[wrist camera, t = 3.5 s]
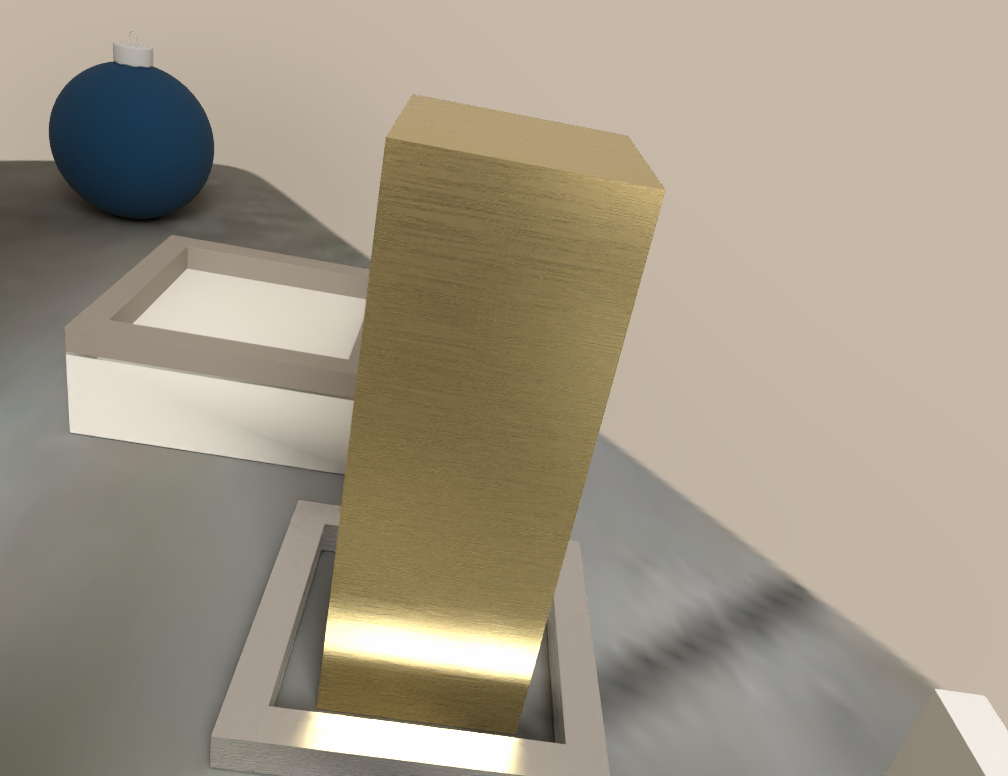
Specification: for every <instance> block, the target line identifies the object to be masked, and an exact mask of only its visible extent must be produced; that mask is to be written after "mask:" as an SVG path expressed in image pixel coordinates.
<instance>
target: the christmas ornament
mask: <svg viewBox="0 0 1008 776" xmlns="http://www.w3.org/2000/svg"><path fill="white" fill-rule="evenodd" d="M134 33H135V32H134ZM130 34H131V32H130ZM135 35H136V34H135ZM129 38H130V37H129ZM136 39H137V38H136ZM129 40H130V39H129ZM113 56H114V57H113V58H114V62H107V63H103V64H99V65H96V66H93V67H91V68H89V69H87V70H85V71H83V72H81V73H80V74H78V75H77V76H76V77H74V78H73V79H72V80H71V81H70V82H69V83H68V84H67V85H66V86H65V87H64V89H63V90H62V91H61V93H60V94H59V96H58V97H57V99H56V101H55V104H54V106H53V109H52V112H51V117H50V122H49V140H50V147H51V150H52V154H53V157H54V160H55V163H56V165H57V167H58V169H59V171H60V172H61V174H62V176H63V177H64V179H65V180H66V181H67V183H68V184H69V185H70V186H71V187H72V189H73V190H74V191H75V192H76V193H77V194H79V195H80V196H81V197H82V198H83V199H85V200H86V201H87V202H89V203H90V204H92V205H94V206H95V207H97V208H99V209H101V210H103V211H105V212H108V213H110V214H113V215H117V216H121V217H125V218H133V219H148V218H155V217H160V216H164V215H167V214H170V213H172V212H174V211H177V210H178V209H180V208H182V207H183V206H185V205H186V204H188V203H189V202H190V201H191V200H192V199H193V198H194V197H195V196H196V195H197V194H198V193H199V192H200V190H201V189H202V188H203V186H204V184H205V183H206V181H207V179H208V176H209V174H210V171H211V168H212V164H213V157H214V140H213V134H212V129H211V126H210V123H209V120H208V118H207V115H206V113H205V111H204V109H203V108H202V106H201V104H200V103H199V102H198V100H197V99H196V97H195V96H194V95H193V94H192V93H191V92H190V91H189V89H187V87H185V86H184V85H183V84H182V83H181V82H180V81H178V80H177V79H176V78H174V77H172V76H171V75H169V74H168V73H166V72H164V71H162V70H160V69H158V68H155V67H153V47H151V46H148V45H145V44H140V43H137V42H136V43H135V42H125V41H116V42H114V43H113Z"/></svg>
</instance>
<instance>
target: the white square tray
mask: <svg viewBox="0 0 1008 776" xmlns="http://www.w3.org/2000/svg"><path fill="white" fill-rule="evenodd" d="M369 272H370V269H364V268H359V267H353V266H347V265H341V264H336V263H330V262H324V261H319V260H313V259H307V258H301V257H296V256H290V255H284V254H279V253H273V252H267V251H261V250H256V249H250V248H244V247H238V246H233V245H227V244H221V243H216V242H210V241H204V240H198V239H193V238H187V237H181V236H176V235H171V236H170V237H168V238H167V239H166V240H165V241H164V242H163V243H161V244H160V245H159V246H158V247H157V248H156V249H154V250H153V251H152V252H151V253H150V254H149V255H147V256H146V257H145V258H144V259H143V260H142V261H140V262H139V263H138V264H137V265H136V266H135V267H133V268H132V269H131V270H130V271H129V272H128V273H126V274H125V275H124V276H123V277H122V278H121V279H119V280H118V281H117V282H116V283H115V284H114V285H112V286H111V287H110V288H109V289H108V290H107V291H105V292H104V293H103V294H102V295H101V296H100V297H98V298H97V299H96V300H95V301H94V302H93V303H91V304H90V305H89V306H88V307H87V308H86V309H84V310H83V311H82V312H81V313H80V314H79V315H77V316H76V317H75V318H74V319H73V320H72V321H70V322H69V323H68V324H67V325H66V326H65V327H64V328H65V346H66V365H67V384H68V403H69V422H70V432H71V433H77V434H84V435H90V436H97V437H103V438H110V439H116V440H123V441H129V442H136V443H142V444H149V445H155V446H162V447H168V448H175V449H181V450H188V451H194V452H201V453H208V454H214V455H221V456H227V457H234V458H240V459H247V460H253V461H260V462H266V463H273V464H279V465H286V466H292V467H299V468H305V469H312V470H318V471H325V472H331V473H338V474H344V475H345V470H346V462H347V454H348V445H349V437H350V429H351V421H352V412H353V404H354V396H355V388H356V379H357V371H358V363H359V355H360V346H361V338H362V330H363V322H364V313H365V305H366V297H367V289H368V280H369Z"/></svg>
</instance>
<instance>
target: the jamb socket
mask: <svg viewBox="0 0 1008 776" xmlns="http://www.w3.org/2000/svg"><path fill="white" fill-rule="evenodd" d="M340 511H341V506H337V505H330V504H324V503H317V502H310V501H304V500H298V503H297V505H296V508H295V511H294V513H293V516H292V519H291V521H290V524H289V527H288V530H287V532H286V535H285V538H284V540H283V543H282V546H281V548H280V551H279V554H278V557H277V559H276V562H275V565H274V567H273V570H272V573H271V576H270V578H269V581H268V584H267V586H266V589H265V592H264V594H263V597H262V600H261V603H260V605H259V608H258V611H257V613H256V616H255V619H254V621H253V624H252V627H251V630H250V632H249V635H248V638H247V640H246V643H245V646H244V648H243V651H242V654H241V657H240V659H239V662H238V665H237V667H236V670H235V673H234V676H233V678H232V681H231V684H230V686H229V689H228V692H227V694H226V697H225V700H224V703H223V705H222V708H221V711H220V713H219V716H218V719H217V721H216V724H215V727H214V730H213V732H212V735H211V749H210V767H212V768H220V769H229V770H237V771H245V772H253V773H261V774H270V775H278V776H610V769H609V761H608V754H607V746H606V739H605V731H604V724H603V716H602V709H601V701H600V694H599V686H598V679H597V671H596V664H595V656H594V648H593V641H592V633H591V626H590V618H589V611H588V603H587V596H586V588H585V581H584V573H583V566H582V558H581V551H580V543H579V542H577V541H570V540H569V542H568V546H567V550H566V553H565V557H564V560H563V564H562V568H561V571H560V575H559V579H558V582H557V586H556V590H555V593H554V597H553V600H552V604H551V608H550V611H549V615H548V619H547V634H548V649H549V663H550V678H551V693H552V707H553V722H554V737H555V743H551V742H544V741H536V740H528V739H520V738H513V737H505V736H497V735H489V734H482V733H474V732H466V731H458V730H451V729H443V728H435V727H427V726H419V725H412V724H404V723H396V722H388V721H381V720H373V719H365V718H357V717H350V716H342V715H334V714H326V713H319V712H311V711H303V710H295V709H287V708H280V707H275V704H276V700H277V697H278V694H279V690H280V687H281V684H282V680H283V677H284V674H285V671H286V667H287V664H288V661H289V657H290V654H291V651H292V647H293V644H294V641H295V637H296V634H297V631H298V627H299V624H300V621H301V617H302V614H303V611H304V607H305V604H306V601H307V597H308V594H309V591H310V587H311V584H312V581H313V577H314V574H315V571H316V567H317V564H318V561H319V557H320V554H321V551H322V550H327V551H334V552H336V544H337V536H338V528H339V520H340Z"/></svg>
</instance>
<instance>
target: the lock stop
mask: <svg viewBox="0 0 1008 776" xmlns="http://www.w3.org/2000/svg"><path fill="white" fill-rule="evenodd" d="M664 194H665V189H664V187H663V186H662V184H661V183H660V181H659V180H658V178H657V177H656V176H655V174H654V173H653V171H652V170H651V168H650V167H649V165H648V164H647V163H646V161H645V160H644V159H643V157H642V156H641V154H640V153H639V151H638V150H637V148H636V147H635V145H634V144H633V142H632V141H631V139H630V138H629V137H628V136H626V135H621V134H615V133H610V132H605V131H600V130H594V129H589V128H585V127H579V126H574V125H569V124H564V123H559V122H554V121H548V120H543V119H538V118H533V117H527V116H522V115H517V114H512V113H507V112H502V111H497V110H492V109H487V108H482V107H476V106H471V105H466V104H461V103H456V102H451V101H446V100H440V99H435V98H430V97H425V96H420V95H415V94H412V96H411V98H410V99H409V101H408V102H407V104H406V106H405V107H404V109H403V110H402V112H401V114H400V115H399V117H398V118H397V120H396V122H395V123H394V125H393V126H392V128H391V130H390V131H389V133H388V134H387V136H386V141H385V148H384V157H383V165H382V173H381V181H380V190H379V198H378V206H377V214H376V223H375V231H374V240H373V248H372V256H371V264H370V272H369V280H368V289H367V297H366V305H365V313H364V322H363V330H362V338H361V346H360V355H359V363H358V371H357V379H356V388H355V396H354V404H353V412H352V421H351V429H350V437H349V445H348V454H347V462H346V470H345V478H344V487H343V495H342V503H341V511H340V520H339V528H338V536H337V544H336V553H335V561H334V569H333V577H332V586H331V594H330V602H329V610H328V619H327V627H326V635H325V643H324V652H323V660H322V668H321V676H320V685H319V693H318V701H317V709H323V710H330V711H338V712H346V713H353V714H361V715H369V716H377V717H384V718H392V719H400V720H407V721H415V722H423V723H431V724H438V725H446V726H454V727H461V728H469V729H477V730H485V731H492V732H500V733H508V734H516V731H517V727H518V724H519V720H520V717H521V713H522V709H523V706H524V702H525V698H526V695H527V691H528V688H529V684H530V680H531V677H532V673H533V669H534V666H535V662H536V658H537V655H538V651H539V648H540V644H541V640H542V637H543V633H544V629H545V626H546V622H547V619H548V615H549V611H550V608H551V604H552V600H553V597H554V593H555V590H556V586H557V582H558V579H559V575H560V571H561V568H562V564H563V560H564V557H565V553H566V550H567V546H568V542H569V539H570V535H571V531H572V528H573V524H574V521H575V517H576V513H577V510H578V506H579V502H580V499H581V495H582V492H583V488H584V484H585V481H586V477H587V473H588V470H589V466H590V462H591V459H592V455H593V452H594V448H595V444H596V441H597V437H598V433H599V430H600V426H601V423H602V419H603V415H604V412H605V408H606V404H607V401H608V397H609V393H610V390H611V386H612V382H613V379H614V375H615V372H616V368H617V364H618V361H619V357H620V353H621V350H622V346H623V342H624V339H625V335H626V332H627V328H628V325H629V321H630V317H631V314H632V310H633V306H634V302H635V299H636V296H637V292H638V288H639V285H640V281H641V277H642V274H643V270H644V266H645V263H646V259H647V255H648V252H649V248H650V245H651V241H652V237H653V234H654V230H655V226H656V223H657V219H658V216H659V212H660V208H661V205H662V201H663V198H664Z"/></svg>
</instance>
